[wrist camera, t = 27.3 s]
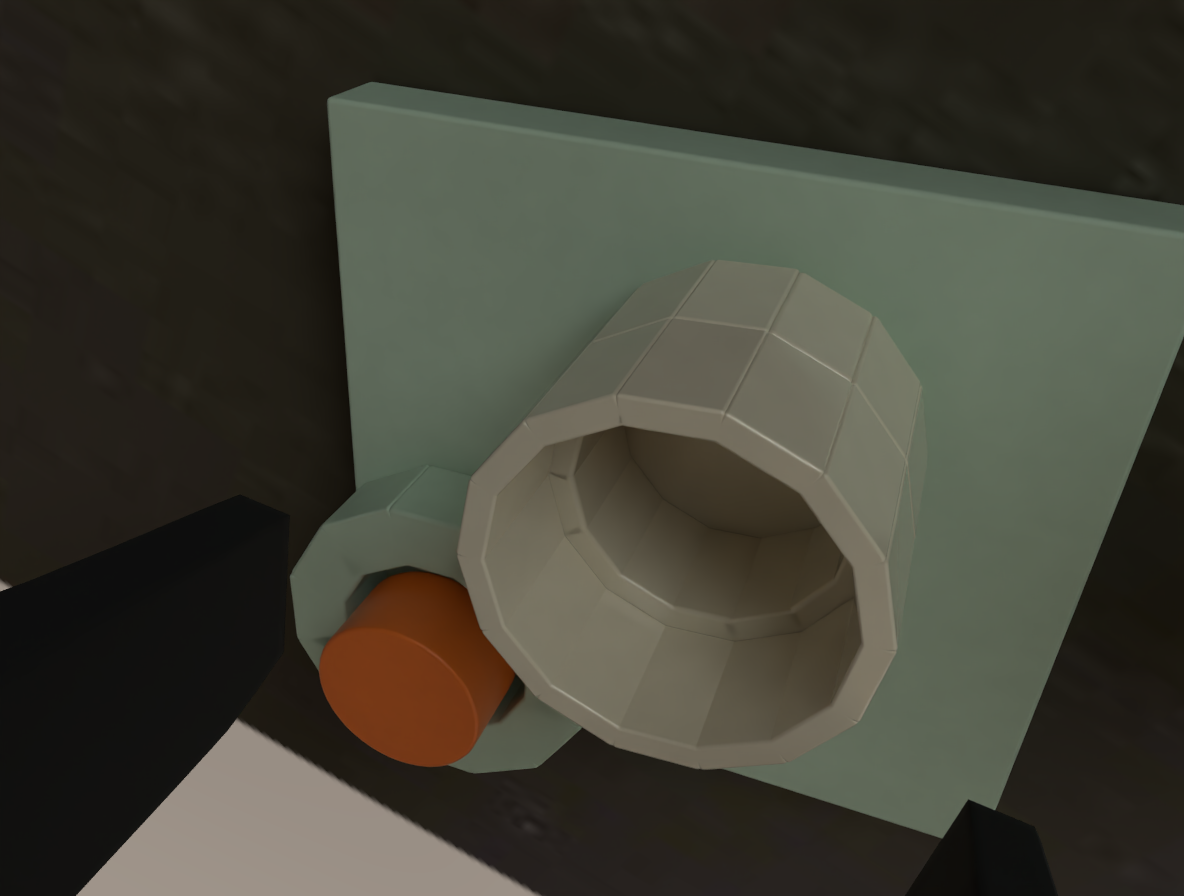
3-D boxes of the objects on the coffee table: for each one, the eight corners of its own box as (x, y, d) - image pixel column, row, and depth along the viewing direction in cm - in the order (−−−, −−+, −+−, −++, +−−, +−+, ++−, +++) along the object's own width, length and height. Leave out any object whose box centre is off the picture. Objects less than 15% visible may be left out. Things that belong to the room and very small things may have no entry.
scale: (378, 630, 24) (306, 718, 22) (341, 75, 18) (231, 113, 15) (975, 814, 21) (968, 944, 18) (1208, 207, 14) (1245, 284, 12)
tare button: (372, 676, 21) (324, 737, 20) (362, 551, 19) (309, 607, 18) (516, 723, 20) (477, 789, 19) (519, 596, 18) (478, 660, 17)
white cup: (564, 486, 18) (434, 668, 14) (634, 197, 15) (493, 326, 11) (854, 602, 18) (802, 831, 14) (990, 319, 14) (976, 506, 10)
